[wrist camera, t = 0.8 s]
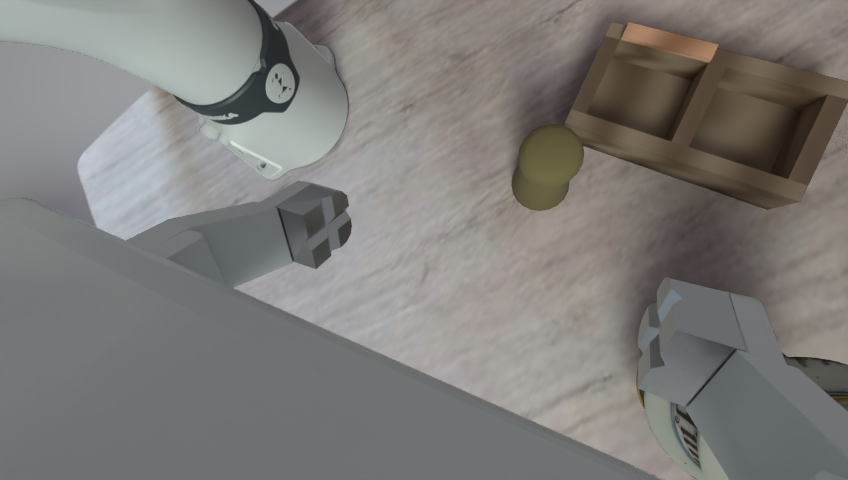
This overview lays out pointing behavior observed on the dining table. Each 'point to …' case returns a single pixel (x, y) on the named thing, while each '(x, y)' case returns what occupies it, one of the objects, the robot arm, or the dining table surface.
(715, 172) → the spice rack
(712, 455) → the apothecary jar
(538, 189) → the olive round-topped post
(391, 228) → the dining table surface
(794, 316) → the dining table surface
